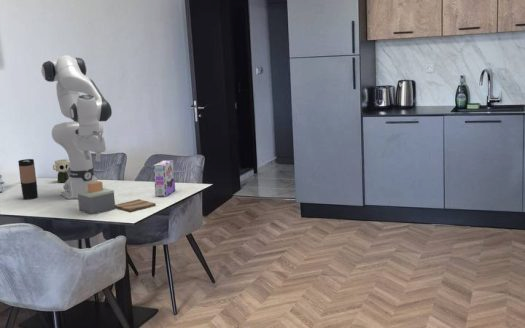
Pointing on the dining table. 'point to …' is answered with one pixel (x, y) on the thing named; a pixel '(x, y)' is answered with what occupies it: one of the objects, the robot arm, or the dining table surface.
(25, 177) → the travel mug
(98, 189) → the lid
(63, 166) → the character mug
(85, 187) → the robot arm
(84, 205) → the storage box
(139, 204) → the walnut board
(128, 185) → the dining table surface
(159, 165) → the candy box
